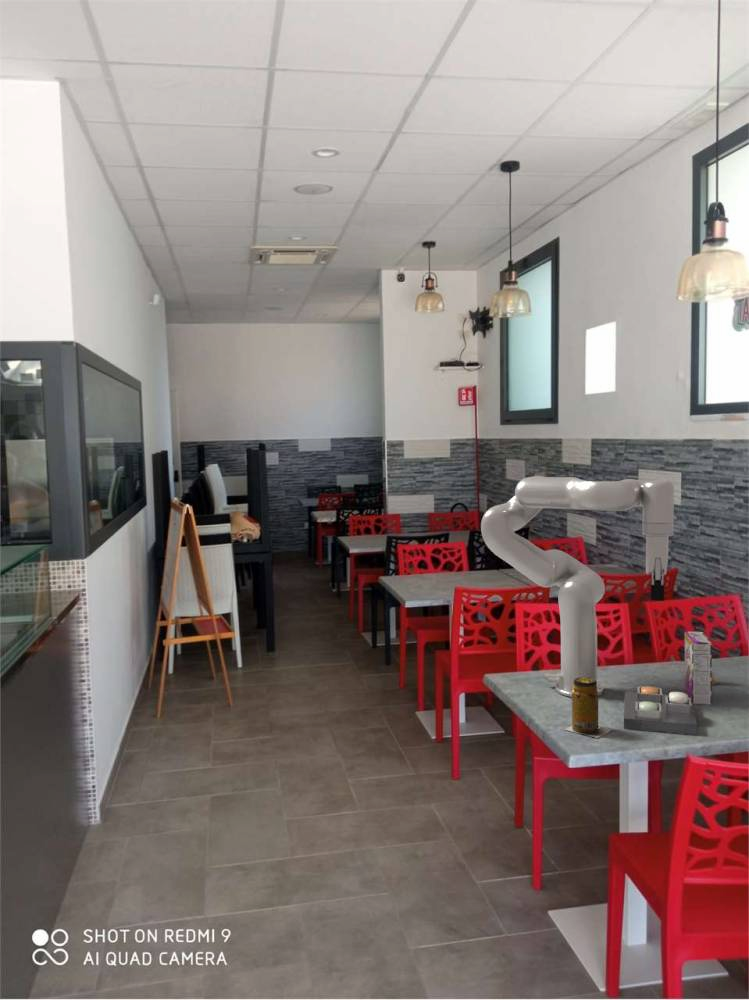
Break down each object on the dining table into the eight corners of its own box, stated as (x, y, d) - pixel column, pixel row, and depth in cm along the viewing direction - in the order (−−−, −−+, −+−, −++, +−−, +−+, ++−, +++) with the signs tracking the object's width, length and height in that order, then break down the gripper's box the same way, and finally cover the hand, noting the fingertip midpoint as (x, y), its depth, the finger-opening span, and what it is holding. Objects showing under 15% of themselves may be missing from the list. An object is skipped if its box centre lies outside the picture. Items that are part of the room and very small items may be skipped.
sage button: (639, 714, 186) (639, 706, 185) (638, 708, 190) (638, 700, 189) (657, 716, 184) (657, 708, 184) (657, 710, 188) (657, 702, 188)
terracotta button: (640, 698, 197) (640, 690, 197) (640, 693, 201) (640, 685, 201) (658, 700, 195) (658, 692, 195) (658, 694, 199) (658, 686, 199)
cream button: (669, 704, 189) (669, 696, 189) (668, 699, 193) (668, 691, 193) (688, 706, 188) (688, 698, 188) (687, 700, 192) (687, 692, 191)
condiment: (579, 721, 190) (579, 673, 189) (612, 730, 185) (612, 680, 184) (564, 730, 185) (564, 680, 184) (597, 739, 179) (597, 688, 178)
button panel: (623, 728, 185) (623, 710, 185) (625, 700, 204) (625, 683, 204) (696, 735, 180) (696, 716, 180) (690, 706, 199) (691, 688, 199)
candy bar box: (683, 690, 211) (683, 630, 210) (703, 691, 210) (703, 631, 209) (691, 704, 200) (692, 641, 199) (712, 705, 199) (712, 642, 198)
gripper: (642, 525, 207) (641, 593, 208) (642, 532, 193) (641, 605, 194) (672, 525, 204) (672, 594, 206) (674, 532, 190) (674, 607, 192)
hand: (657, 599), depth 200 cm, fingers closed
